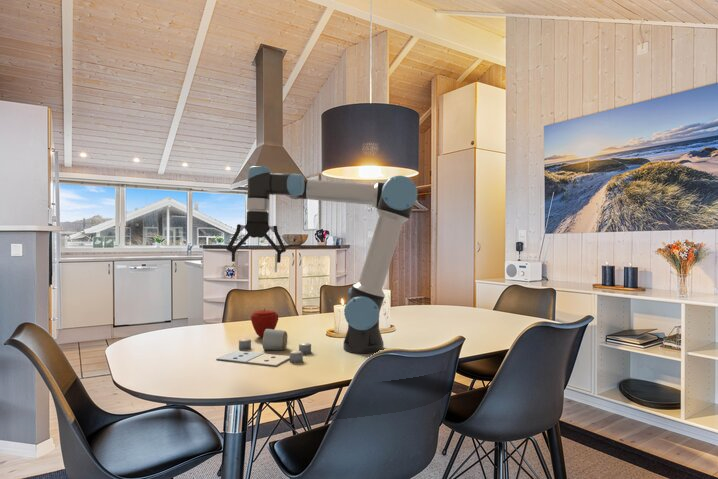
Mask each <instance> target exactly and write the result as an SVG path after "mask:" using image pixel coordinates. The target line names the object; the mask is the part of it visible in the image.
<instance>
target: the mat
mask: <svg viewBox="0 0 718 479" xmlns="http://www.w3.org/2000/svg"><path fill="white" fill-rule="evenodd" d="M216 361H219V362H220V361H222V362H230V363H238V364H245V365H246V364H248V365H258V366H266V367H274V368H277V367H279V366H281V365H283V364H284V363H286V362H287V361H290V355H281V354H270V353H262V352H250V351H244V350H235V351H232V352H230V353H227V354H224V355H222V356H220V357H218V358H216Z"/></svg>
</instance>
